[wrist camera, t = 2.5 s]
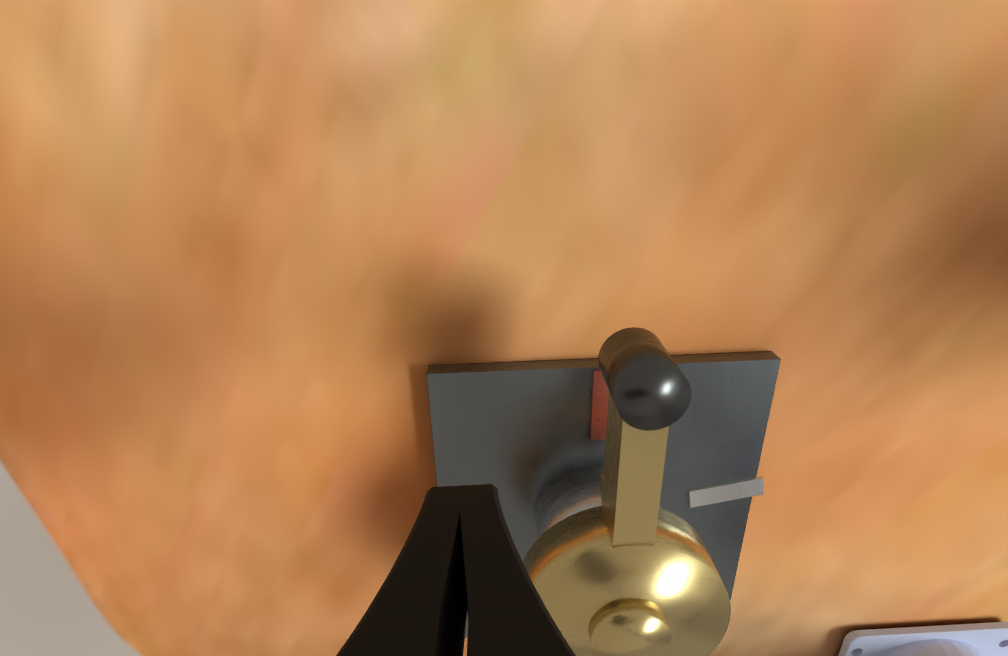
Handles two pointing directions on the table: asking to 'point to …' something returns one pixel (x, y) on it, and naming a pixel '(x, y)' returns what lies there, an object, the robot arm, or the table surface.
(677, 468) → the dark grey plate
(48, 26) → the table surface
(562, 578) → the brass lever handle
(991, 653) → the robot arm
